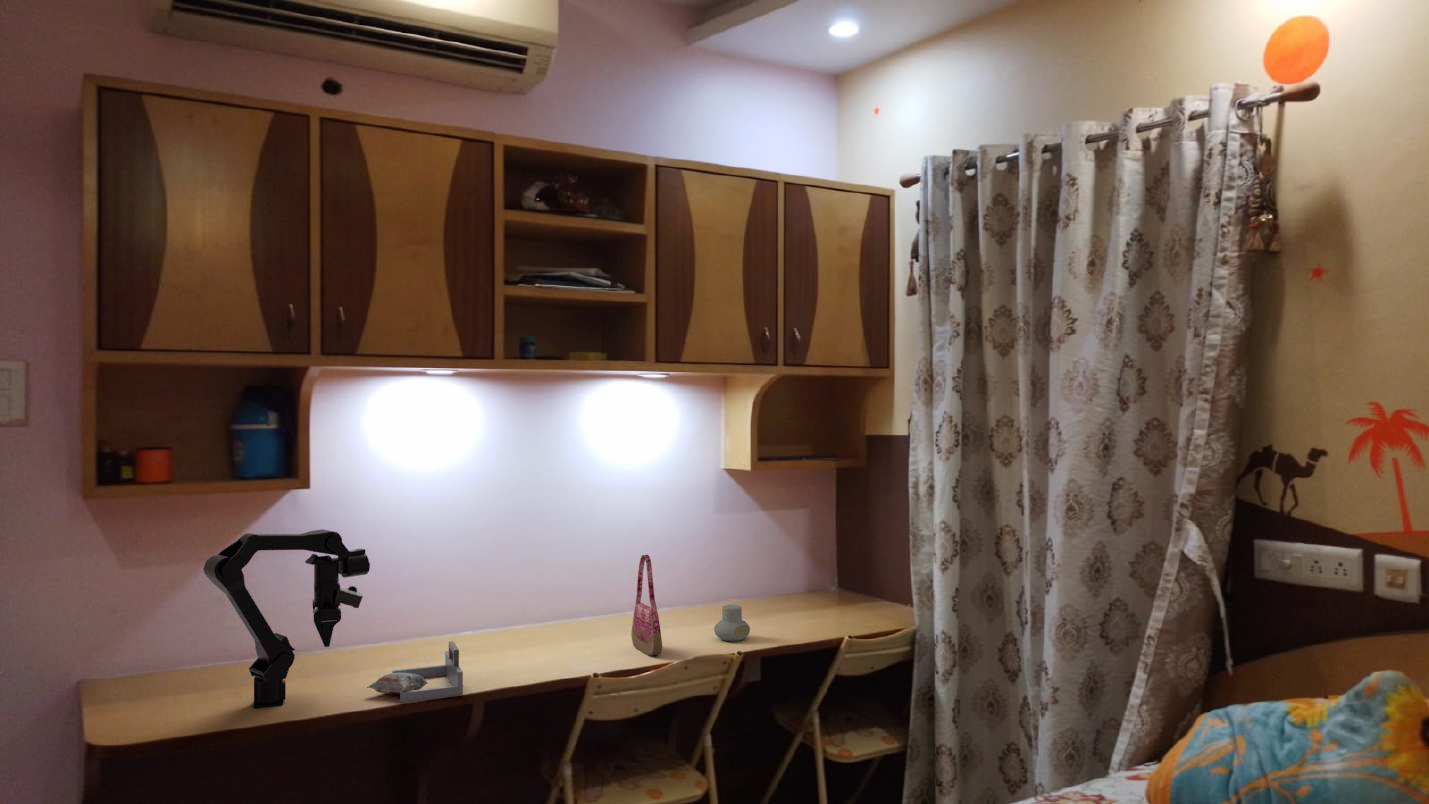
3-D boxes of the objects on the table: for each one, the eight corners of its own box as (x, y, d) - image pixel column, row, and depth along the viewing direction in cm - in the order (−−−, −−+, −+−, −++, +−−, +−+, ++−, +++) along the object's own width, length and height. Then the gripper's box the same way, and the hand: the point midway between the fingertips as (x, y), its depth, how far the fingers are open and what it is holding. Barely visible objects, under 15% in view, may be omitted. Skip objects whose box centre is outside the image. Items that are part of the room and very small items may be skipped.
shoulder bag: (630, 645, 284) (631, 551, 284) (640, 644, 285) (640, 550, 285) (653, 659, 269) (653, 559, 269) (662, 657, 270) (662, 559, 270)
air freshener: (734, 634, 298) (734, 602, 298) (754, 638, 292) (754, 606, 292) (709, 640, 290) (709, 607, 290) (729, 645, 284) (729, 611, 284)
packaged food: (404, 698, 229) (405, 676, 230) (366, 695, 233) (366, 674, 234) (428, 692, 237) (428, 671, 238) (390, 689, 241) (391, 669, 242)
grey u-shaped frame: (400, 703, 229) (400, 662, 229) (392, 680, 248) (392, 641, 248) (462, 696, 235) (462, 655, 235) (449, 673, 254) (449, 636, 254)
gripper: (363, 584, 234) (363, 647, 234) (358, 572, 251) (358, 631, 251) (313, 587, 230) (313, 652, 230) (312, 575, 247) (312, 635, 247)
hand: (326, 642), depth 239 cm, fingers open, 9 cm apart
